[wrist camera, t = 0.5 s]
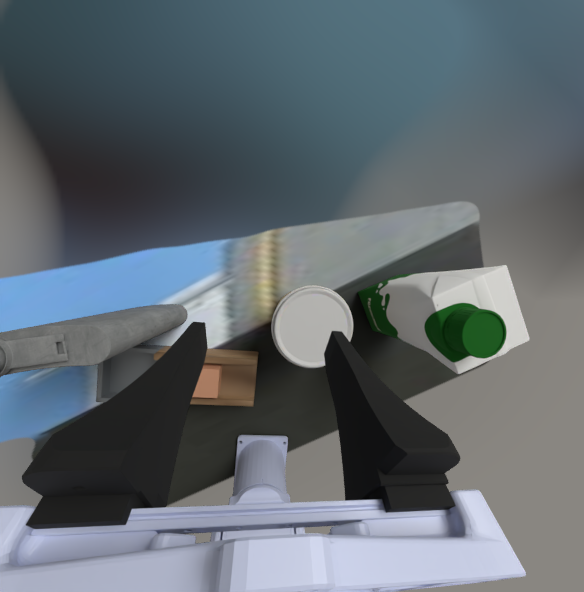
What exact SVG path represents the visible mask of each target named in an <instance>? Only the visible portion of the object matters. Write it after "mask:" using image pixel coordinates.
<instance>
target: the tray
mask: <svg viewBox="0 0 584 592" xmlns="http://www.w3.org/2000/svg"><path fill="white" fill-rule="evenodd" d="M163 347H165V346H157V345H141V344H139V345H137V346H134V347H132V348H130V349H128V350H126V351H124V352H122V353H120V354H118V355H115V356H113V357H111V358H109V359H107V360H105V361H103V362H101V363H99V364H98V382H97V399H96V402H106V401H108V400H109V399H111V398H112V397H114V396H115V395H116V394H118V393H119V392H121V391H122V390H123V389H124V388H126V387H127V386H128V385H130V384H131V383H132V382H133V381H135V380H136V379H137V378H138V377H140V376H141V375H142V374H143V373H144V372H145V371H147V370H148V369H149V368H150V367H151V366H152V365H153V364H154V363H155V362H156V361H157V360H154V354H155V353H156V352H158V351H159V350H160V349H162V348H163Z"/></svg>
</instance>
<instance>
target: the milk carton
mask: <svg viewBox="0 0 584 592" xmlns="http://www.w3.org/2000/svg"><path fill="white" fill-rule="evenodd" d="M358 294H359V297H360V300H361V302H362V305H363V308H364V310H365V313H366V315H367V318H368V321H369V323H370V326H371V329H372V330H373V331H376V332H379V333H382V334H385V335H388V336H392V337H394V338H397V339H399V340H401V341H404V342H406V343H408V344H411V345H413V346H415V347H418V348H420V349H422V350H425V351H427V352H428V353H430V354H431V355H432V356H434V357H435V358H436V359H438V360H439V361H441V362H442V363H443V364H445V365H446V366H447V367H449V368H450V369H451V370H453V371H454V372H455V373H457V374H460V373H462V372H465V371H467V370H469V369H471V368H474V367H476V366H478V365H480V364H482V363H485V362H487V361H489V360H491V359H493V358H495V357H499V356H501V355H503V354H505V353H507V352H508V350H509V349H512V348H514V347H516V346H518V345H520V344H522V343H524V342H526V341H528V340H530V339H529V336H528V332H527V329H526V326H525V323H524V320H523V316H522V314H521V310H520V307H519V304H518V301H517V297H516V294H515V291H514V288H513V285H512V282H511V278H510V275H509V272H508V269H507V266H506V265H504V266H496V267H487V268H477V269H468V270H458V271H447V272H430V273H416V274H403V275H397V276H394V277H392V278H389V279H387V280H385V281H382V282H380V283H378V284H375V285H373V286H370V287H368V288H366V289H363V290H361V291H359V292H358Z"/></svg>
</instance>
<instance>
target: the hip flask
mask: <svg viewBox="0 0 584 592" xmlns="http://www.w3.org/2000/svg"><path fill="white" fill-rule="evenodd" d="M186 319H187V311H186V309H185V308H184V307H183V306H181V305H177V304H168V305H152V306H143V307H137V308H131V309H126V310H120V311H115V312H110V313H104V314H99V315H93V316H88V317H83V318H77V319H72V320H66V321H61V322H56V323H50V324H45V325H39V326H34V327H28V328H23V329H18V330H12V331H7V332H1V333H0V377H1V376H3V375H7V374H12V373H17V372H23V371H29V370H36V369H44V368H53V367H64V366H90V365H96V364H99V363H101V362H103V361H105V360H107V359H109V358H111V357H113V356H115V355H118V354H120V353H122V352H124V351H126V350H128V349H130V348H132V347H134V346H137V345H139V344H141V343H143V342H145V341H147V340H149V339H151V338H153V337H155V336H158V335H160V334H162V333H164V332H166V331H168V330H170V329H172V328H174V327H177V326H179V325H181V324H183V323H184V322H185V321H186Z"/></svg>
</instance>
